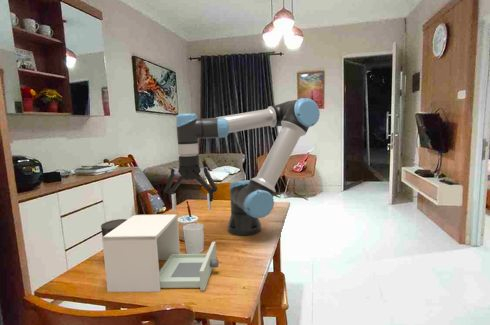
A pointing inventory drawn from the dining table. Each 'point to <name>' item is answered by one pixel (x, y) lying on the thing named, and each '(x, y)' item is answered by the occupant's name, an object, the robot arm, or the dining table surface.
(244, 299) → the dining table surface
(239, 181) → the robot arm
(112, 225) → the coffee can
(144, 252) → the box
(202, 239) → the white cup
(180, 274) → the tray
